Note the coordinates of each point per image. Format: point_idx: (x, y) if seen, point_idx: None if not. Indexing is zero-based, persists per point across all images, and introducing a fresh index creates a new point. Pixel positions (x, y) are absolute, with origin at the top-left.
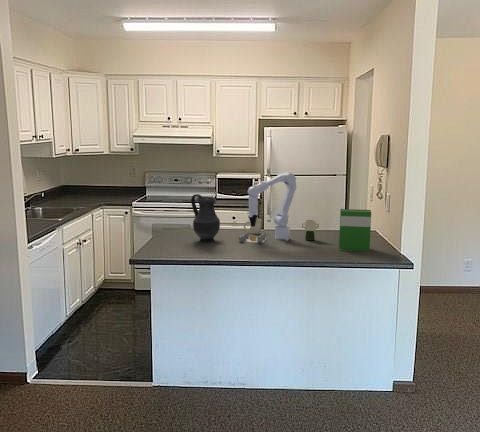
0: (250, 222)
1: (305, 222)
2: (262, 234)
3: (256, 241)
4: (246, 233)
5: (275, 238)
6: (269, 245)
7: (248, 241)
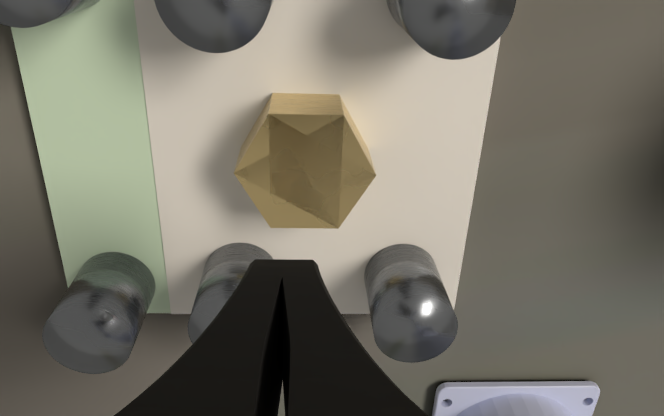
0: (212, 324)
1: None
2: (373, 332)
3: (215, 219)
4: (407, 13)
5: (477, 406)
6: (124, 388)
7: (167, 91)
